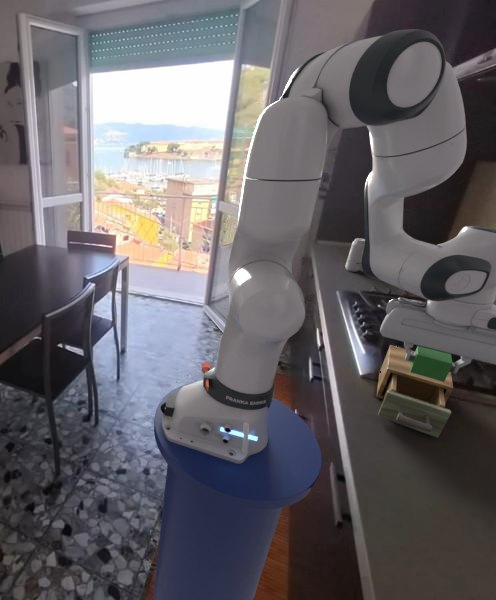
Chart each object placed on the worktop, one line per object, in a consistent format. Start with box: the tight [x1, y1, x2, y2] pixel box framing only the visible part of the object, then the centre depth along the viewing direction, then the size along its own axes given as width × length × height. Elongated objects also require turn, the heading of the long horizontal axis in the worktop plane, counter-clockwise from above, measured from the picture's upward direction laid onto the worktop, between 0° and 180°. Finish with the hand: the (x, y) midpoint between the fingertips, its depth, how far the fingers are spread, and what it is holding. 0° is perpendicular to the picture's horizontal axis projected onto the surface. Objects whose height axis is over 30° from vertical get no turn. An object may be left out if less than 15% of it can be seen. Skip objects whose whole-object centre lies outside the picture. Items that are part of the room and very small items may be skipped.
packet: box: [410, 345, 453, 382], centre depth 76 cm, size 4×6×4 cm
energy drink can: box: [345, 237, 365, 273], centre depth 168 cm, size 6×6×15 cm
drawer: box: [377, 373, 452, 438], centre depth 79 cm, size 17×10×7 cm, turn 141°
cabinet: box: [375, 344, 454, 404], centre depth 88 cm, size 14×12×9 cm
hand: (429, 365), depth 76 cm, fingers closed on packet, 5 cm apart
